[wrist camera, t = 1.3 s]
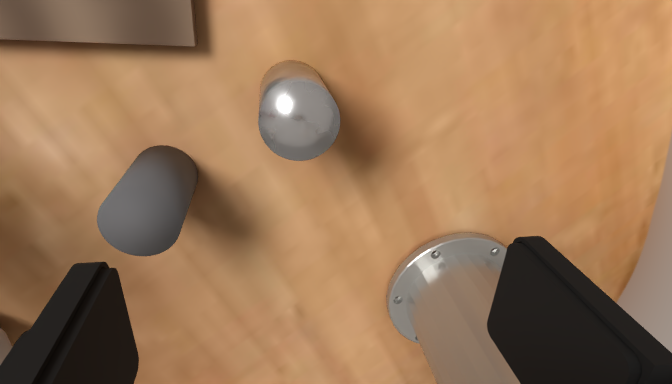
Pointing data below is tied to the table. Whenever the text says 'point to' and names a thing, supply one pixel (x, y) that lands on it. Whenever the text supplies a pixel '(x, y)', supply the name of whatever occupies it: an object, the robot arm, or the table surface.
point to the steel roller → (297, 112)
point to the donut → (4, 345)
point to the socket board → (100, 21)
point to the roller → (149, 202)
